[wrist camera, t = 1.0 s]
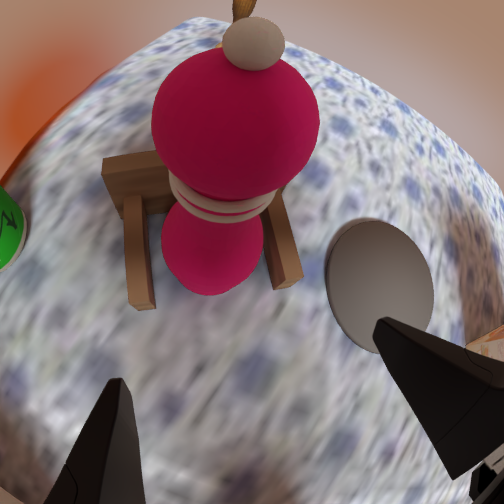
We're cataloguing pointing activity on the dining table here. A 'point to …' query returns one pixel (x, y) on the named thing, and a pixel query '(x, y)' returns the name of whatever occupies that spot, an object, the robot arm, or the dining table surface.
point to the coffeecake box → (490, 344)
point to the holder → (161, 201)
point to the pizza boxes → (8, 498)
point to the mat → (378, 281)
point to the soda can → (10, 230)
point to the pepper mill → (229, 151)
